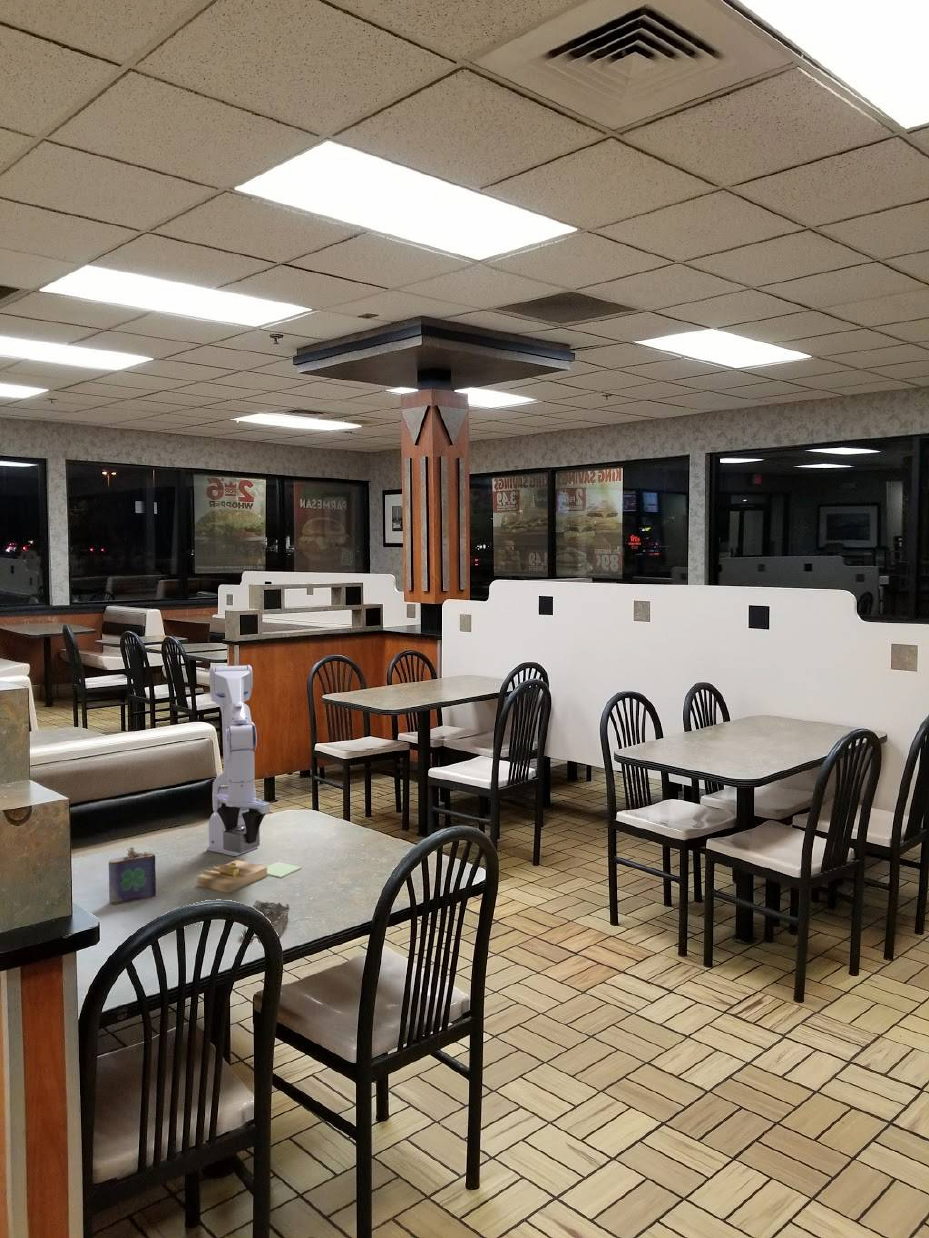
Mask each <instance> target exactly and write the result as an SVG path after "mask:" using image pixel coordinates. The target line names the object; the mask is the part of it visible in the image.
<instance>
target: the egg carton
mask: <svg viewBox="0 0 929 1238" xmlns="http://www.w3.org/2000/svg"><path fill="white" fill-rule="evenodd" d="M252 907H254V908H255V909H256V910H258V911H260V912H262V913H263V914H264V916H265V917H267V918H268V919H269V920H270V921H271V924H272V925H273V927H274V929H275V930H276V932H277V933H278V935H279V936H278V937H281V936H282V935H283V930H284V929H285V928H286V923H287V922H289V912H290V910H291V909H290V908H291V907H290V904H288V903H287V904H285V905H282V904H281V902H278V903H276V902H269V901H266V902H263V901H260V900H258V899H256V900H255V901H254V903H253V905H252ZM257 938H258V937H257V936H253V938H252V939H257Z"/></svg>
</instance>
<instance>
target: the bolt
mask: <svg viewBox="0 0 929 1238" xmlns="http://www.w3.org/2000/svg"><path fill="white" fill-rule="evenodd" d="M219 867H220V874H223V875H227V876H232V877H236V878H237V877H239V868H238V867H236V864H235V863H231V864H229V865H225V864H223V865H222V864H221V865H220V866H219Z"/></svg>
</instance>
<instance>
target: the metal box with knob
mask: <svg viewBox="0 0 929 1238" xmlns="http://www.w3.org/2000/svg"><path fill="white" fill-rule="evenodd" d="M260 838H261V837H260V829H259V830H258V834H257V838H256V841H255V842H253V843H251V844H248V843H247V839H246V827H245V825H244V824H242V825H239V826H236V827H234V828H231V829H228V830H226V831H223V849H224V850H228V851H233V852H237V853H243V852H245V851H248V850H250V849H252V848H255V847H257V846H258V847H260V845H261V843H260ZM258 847H257V848H258ZM255 849H256V848H255ZM252 850H253V849H252ZM250 851H251V850H250ZM248 852H249V851H248ZM245 853H246V852H245ZM243 854H244V853H243Z"/></svg>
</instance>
